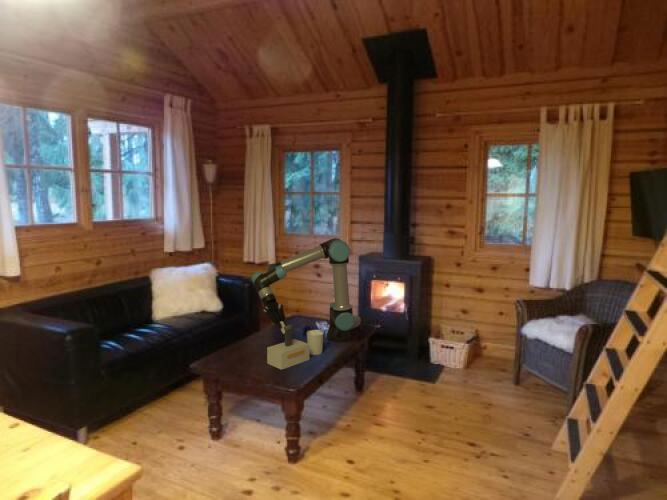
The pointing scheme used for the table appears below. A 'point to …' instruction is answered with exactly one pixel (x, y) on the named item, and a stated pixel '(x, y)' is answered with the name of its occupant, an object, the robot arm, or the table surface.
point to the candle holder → (315, 341)
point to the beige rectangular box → (287, 354)
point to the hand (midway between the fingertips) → (285, 332)
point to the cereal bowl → (356, 321)
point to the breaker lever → (288, 334)
